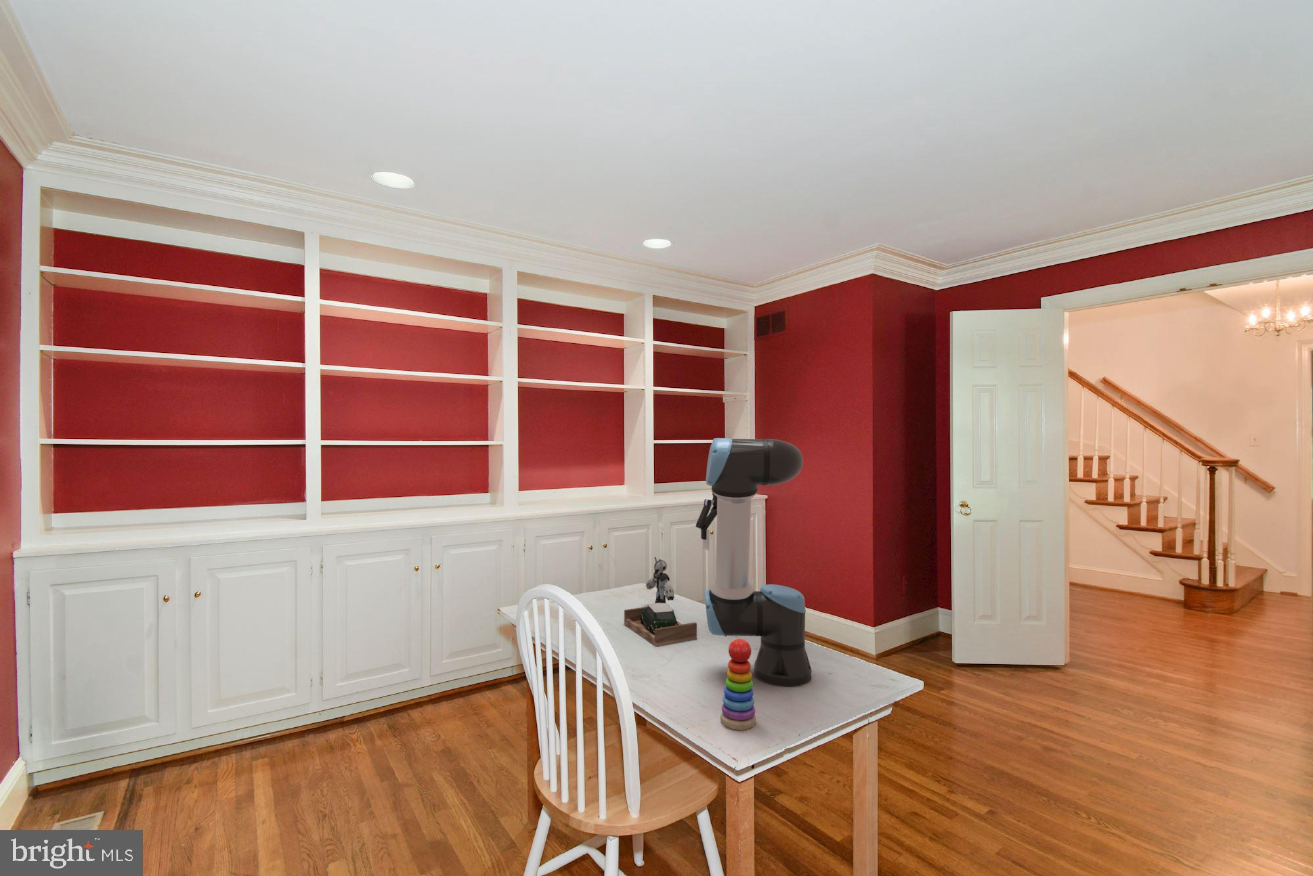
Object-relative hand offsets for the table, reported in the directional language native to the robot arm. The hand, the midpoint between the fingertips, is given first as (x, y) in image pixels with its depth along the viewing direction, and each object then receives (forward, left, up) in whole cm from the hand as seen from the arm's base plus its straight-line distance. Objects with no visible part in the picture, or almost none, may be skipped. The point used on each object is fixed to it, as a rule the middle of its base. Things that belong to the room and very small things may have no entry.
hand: (723, 547), depth 197 cm
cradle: (+6, +21, -27) cm, 34 cm away
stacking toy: (-56, +34, -27) cm, 71 cm away
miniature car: (+6, +21, -26) cm, 34 cm away
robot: (+24, +11, -27) cm, 38 cm away
